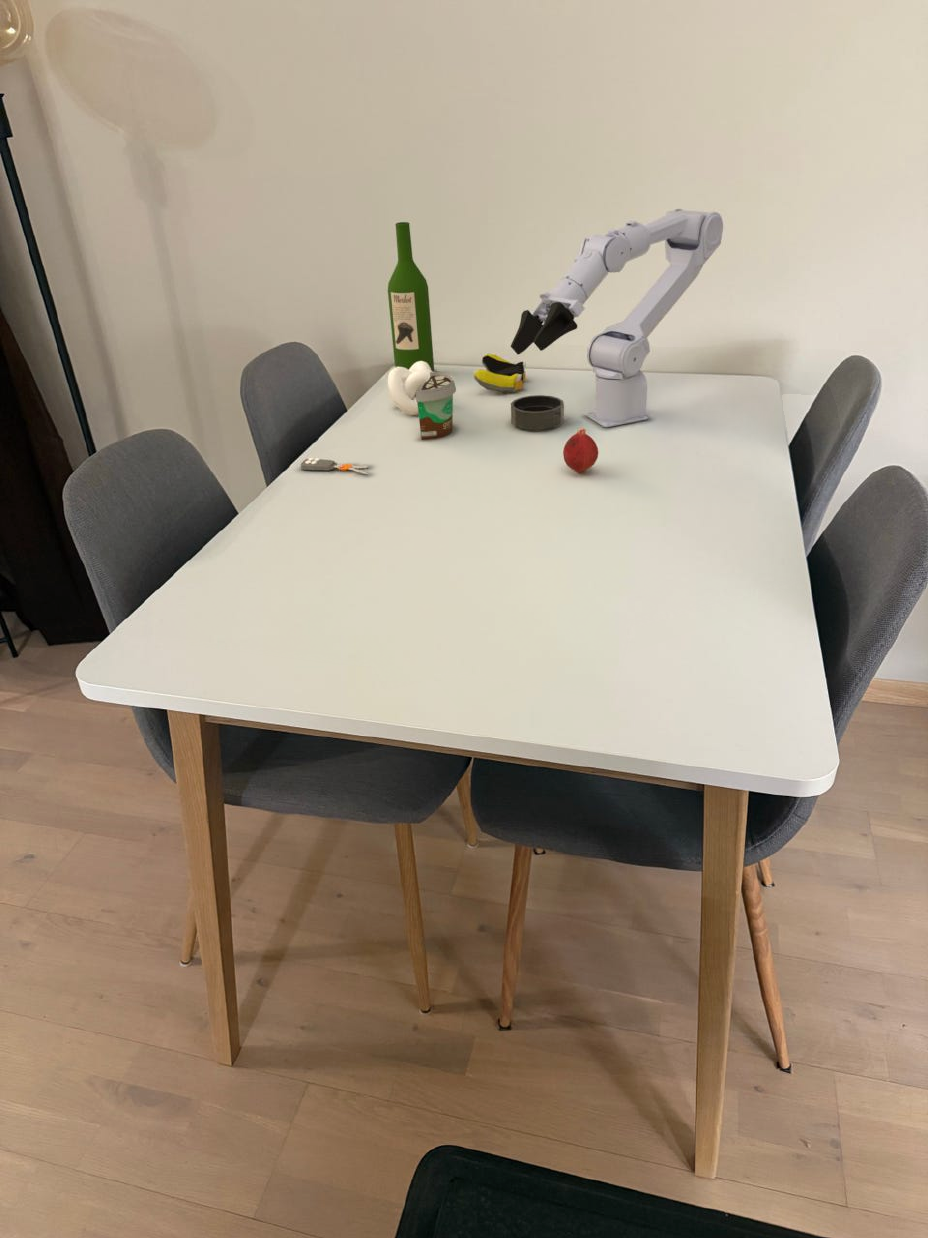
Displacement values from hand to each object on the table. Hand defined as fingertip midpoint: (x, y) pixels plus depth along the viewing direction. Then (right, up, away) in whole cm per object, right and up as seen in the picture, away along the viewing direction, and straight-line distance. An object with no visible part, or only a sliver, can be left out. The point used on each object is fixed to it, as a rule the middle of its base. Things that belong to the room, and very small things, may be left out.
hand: (526, 348), depth 154 cm
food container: (-15, -10, +21) cm, 28 cm away
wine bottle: (-22, +10, +54) cm, 59 cm away
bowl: (+4, -8, +22) cm, 24 cm away
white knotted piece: (-21, -2, +34) cm, 40 cm away
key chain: (-33, -20, +8) cm, 40 cm away
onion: (+9, -22, 0) cm, 23 cm away
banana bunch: (-2, +4, +43) cm, 44 cm away
